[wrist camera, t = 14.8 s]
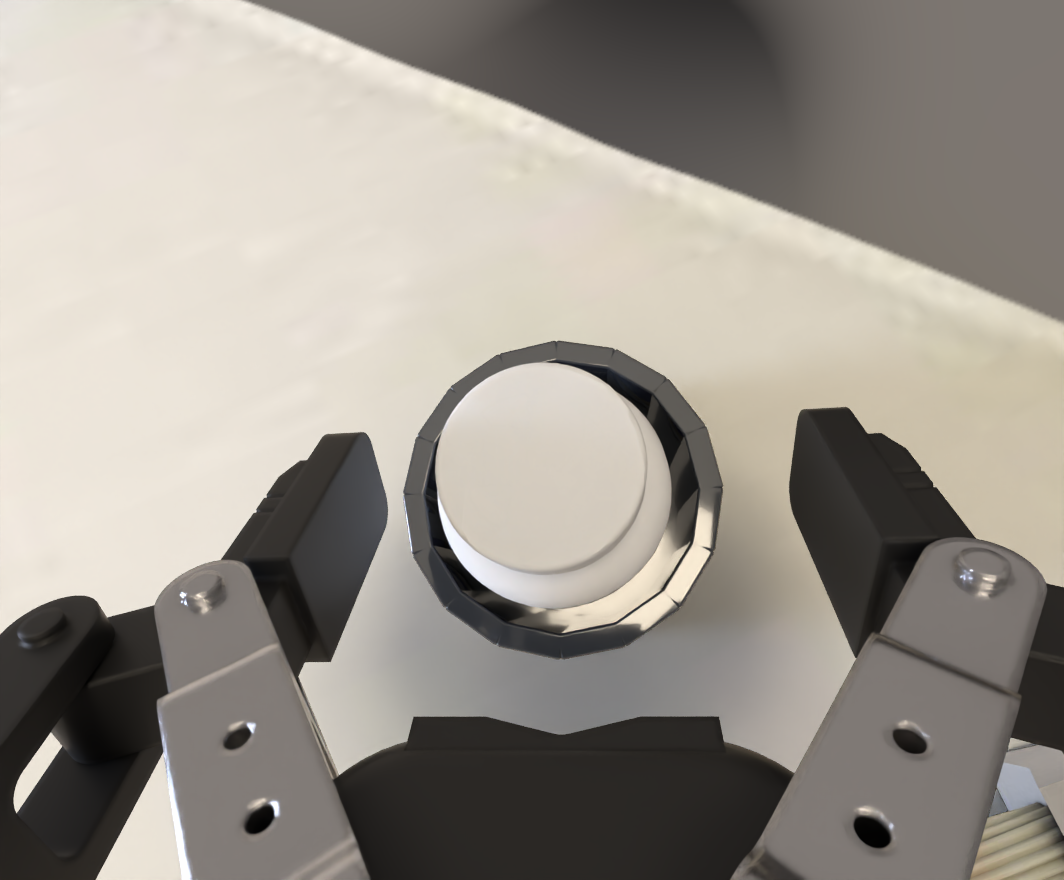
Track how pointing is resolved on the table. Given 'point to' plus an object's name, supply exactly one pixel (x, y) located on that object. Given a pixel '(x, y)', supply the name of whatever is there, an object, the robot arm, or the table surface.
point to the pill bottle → (551, 486)
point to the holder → (645, 593)
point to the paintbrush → (1026, 820)
